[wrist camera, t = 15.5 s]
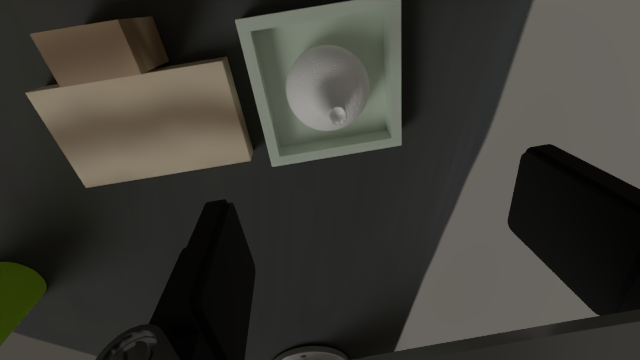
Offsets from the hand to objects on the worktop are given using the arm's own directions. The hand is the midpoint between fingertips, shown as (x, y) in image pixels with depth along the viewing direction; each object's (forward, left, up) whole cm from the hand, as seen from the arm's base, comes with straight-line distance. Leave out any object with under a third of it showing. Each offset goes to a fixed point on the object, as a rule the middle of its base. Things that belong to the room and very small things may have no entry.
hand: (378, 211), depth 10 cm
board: (-1, +14, -18) cm, 23 cm away
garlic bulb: (0, 0, -17) cm, 17 cm away
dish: (0, 0, -17) cm, 17 cm away
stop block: (+5, +14, -17) cm, 23 cm away
